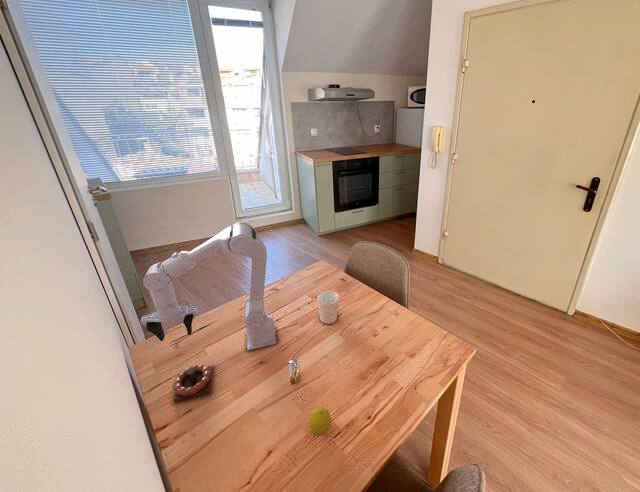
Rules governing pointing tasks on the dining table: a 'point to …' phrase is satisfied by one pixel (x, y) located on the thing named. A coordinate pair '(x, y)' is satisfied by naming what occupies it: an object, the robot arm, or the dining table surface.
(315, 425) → the lemon
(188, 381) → the stand
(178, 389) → the hoop
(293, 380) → the ring
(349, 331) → the dining table surface
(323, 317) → the white cup
